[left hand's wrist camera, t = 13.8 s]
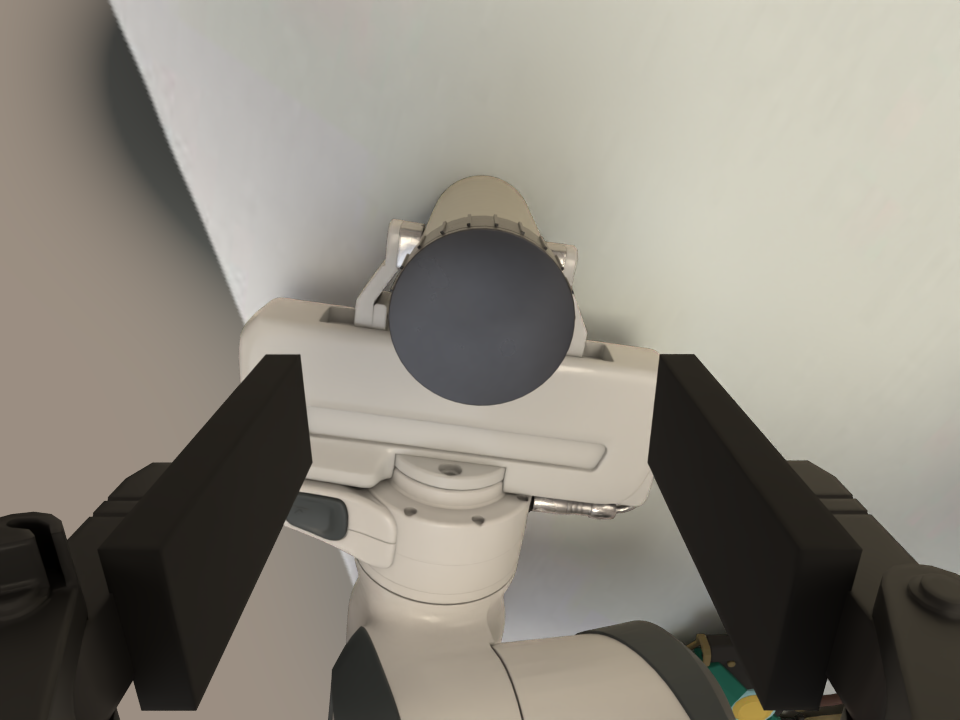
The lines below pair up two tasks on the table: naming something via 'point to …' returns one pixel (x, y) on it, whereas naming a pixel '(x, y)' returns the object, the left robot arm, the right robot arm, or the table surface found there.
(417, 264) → the lid
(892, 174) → the table surface
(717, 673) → the spray gun
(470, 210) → the beige cylindrical container
